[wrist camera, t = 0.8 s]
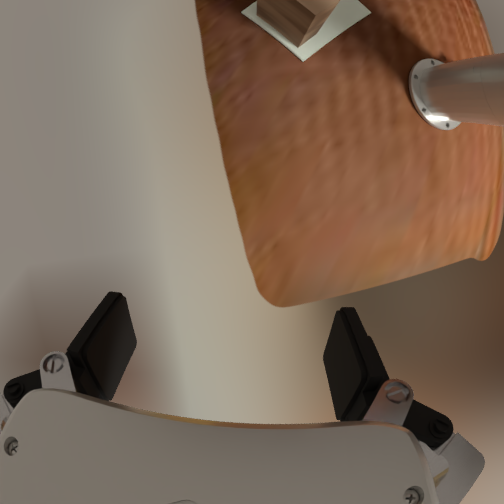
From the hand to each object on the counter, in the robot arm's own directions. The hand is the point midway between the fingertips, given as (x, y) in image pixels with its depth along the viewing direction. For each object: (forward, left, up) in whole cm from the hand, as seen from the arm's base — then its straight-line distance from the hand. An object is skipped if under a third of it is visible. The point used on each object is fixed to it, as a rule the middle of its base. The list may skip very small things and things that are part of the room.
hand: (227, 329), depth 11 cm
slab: (-22, -14, -29) cm, 39 cm away
